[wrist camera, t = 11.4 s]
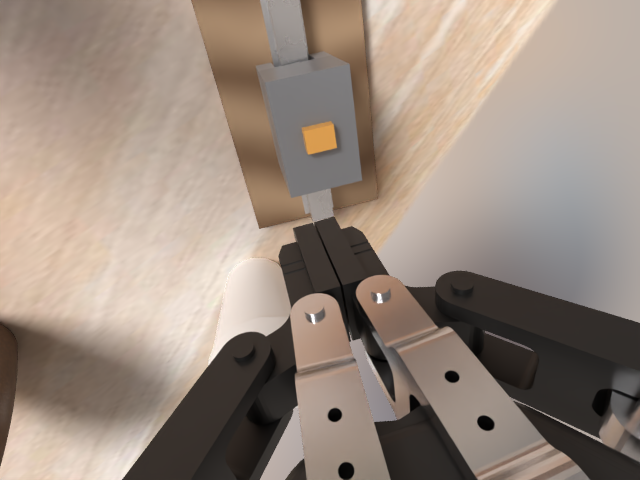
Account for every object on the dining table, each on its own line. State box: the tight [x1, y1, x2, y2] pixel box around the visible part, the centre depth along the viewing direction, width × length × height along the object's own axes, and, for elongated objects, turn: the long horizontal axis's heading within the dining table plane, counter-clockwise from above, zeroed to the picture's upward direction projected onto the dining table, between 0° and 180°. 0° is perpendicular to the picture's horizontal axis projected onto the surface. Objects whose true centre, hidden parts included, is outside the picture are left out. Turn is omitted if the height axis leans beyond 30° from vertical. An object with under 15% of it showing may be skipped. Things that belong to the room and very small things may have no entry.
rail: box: [260, 0, 334, 221], centre depth 29 cm, size 25×3×2 cm, turn 9°
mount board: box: [191, 0, 378, 229], centre depth 30 cm, size 26×12×1 cm, turn 9°
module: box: [256, 51, 362, 198], centre depth 28 cm, size 8×5×8 cm
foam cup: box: [208, 258, 298, 408], centre depth 36 cm, size 10×9×13 cm
